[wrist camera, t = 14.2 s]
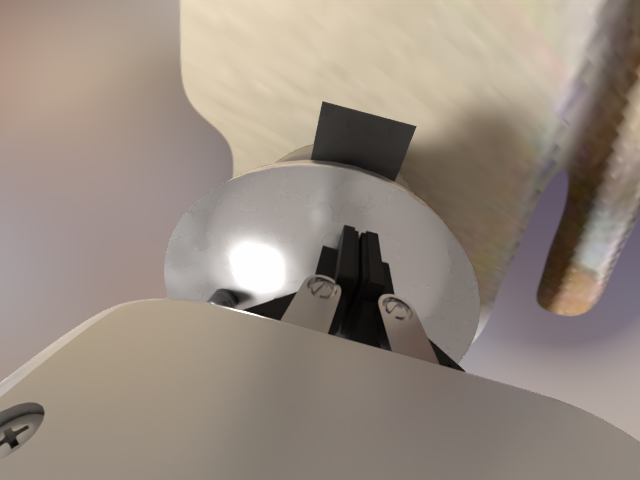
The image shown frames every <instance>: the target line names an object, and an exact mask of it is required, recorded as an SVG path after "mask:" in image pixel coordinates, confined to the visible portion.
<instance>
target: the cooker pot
mask: <svg viewBox="0 0 640 480" xmlns="http://www.w3.org/2000/svg"><path fill="white" fill-rule="evenodd" d="M415 129H416V126H413V125H410V124H406V123H402V122H398V121H395V120H391V119H387V118H383V117H380V116H376V115H372V114H368V113H365V112H361V111H357V110H353V109H349V108H346V107H342V106H338V105H334V104H331V103H327V102H322V107H321V112H320V116H319V121H318V126H317V131H316V136H315V141H314V144H313V145H309V146H305V147H303V148H300V149H298V150H295V151H294V152H292V153H290V154H288V155H287V156H285V157H283V158H282V159H280V160H279V161H277V162H275V163H279V162H286V161H299V160H315V161H331V162H336V163H341V164H346V165H351V166H356V167H359V168H362V169H365V170H368V171H371V172H374V173H376V174H379V175H381V176H383V177H385V178H387V179H389V180H391V181H393V182H395V183H397V184H399V185H401V186H403V187H404V188H406V189H407V190H409V191H410V192H412V190H411V188H410V187H409V185H408V184H407V182H406V181H405V179H404V178H403V177H402V175H401V174H400V173H399V170H400V167H401V165H402V162H403V159H404V157H405V154H406V152H407V149H408V147H409V144H410V141H411V139H412V136H413V134H414V131H415ZM412 193H413V192H412ZM413 194H414V193H413Z"/></svg>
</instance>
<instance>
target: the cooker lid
mask: <svg viewBox="0 0 640 480" xmlns="http://www.w3.org/2000/svg"><path fill="white" fill-rule="evenodd" d="M344 225H348V226H352V227H355V231H359V238H360V235H361V233H366V231H370V232H374V233H377V234H378V237H379V243H380V250H381V257H382V262H386V263H389V267H390V272H391V278H392V283H393V288H394V294H395V295H397V296H399V297H401V298H403V299H405V300H406V301H408V302H409V303H410V304H411V305H412V306H413V308H414V309H415V311H416V313H417V315H418V317H419V320H420V322H421V324H422V326H423V328H424V331H425V333H426V335H427V337H428V338H429V339H430V340H431V341H432V342H434V343H435V344H436V345H437V346H438V347H439V348H440V349H441V350H442V351H444V352H445V353H446V354H447V355H448V356H449V357H450V358H451V359H452V360H454V361H455V362H456V363H457V364H458V363H459V362H460V361H461V359H462V358H463V356H464V355H465V354H466V352H467V351H468V349H469V347H470V345H471V343H472V341H473V338H474V336H475V333H476V329H477V326H478V322H479V314H480V296H479V287H478V282H477V279H476V276H475V273H474V270H473V267H472V264H471V262H470V260H469V259H468V257H467V255H466V253H465V251H464V249H463V247H462V246H461V244H460V243H459V242H458V240H457V239H456V238H455V236H454V235H453V234H452V232H451V231H450V230H449V228H448V227H447V226H446V225H445V223H444V222H443V221H442V219H441V218H440V217H439V216H438V215H437V214H436V213H435V212H434V211H433V210H432V209H431V208H430V207H429V206H428V205H427V204H426V203H425V202H424V201H423V200H422V199H420V198H419V197H417V196H416V195H414V194H413V193H412V192H410V191H409V190H407V189H406V188H404V187H403V186H401V185H399V184H397V183H395V182H393V181H391V180H389V179H387V178H385V177H383V176H381V175H379V174H376V173H374V172H371V171H368V170H365V169H362V168H359V167H356V166H351V165H346V164H341V163H336V162H331V161H315V160H299V161H286V162H279V163H274V164H270V165H265V166H261V167H258V168H255V169H253V170H250V171H247V172H245V173H242V174H240V175H238V176H236V177H234V178H232V179H230V180H229V181H227V182H225V183H223V184H221V185H220V186H218V187H216V188H215V189H213V190H211V191H210V192H208V193H206V194H205V195H204V196H203V197H202V198H200V199H199V200H198V201H197V202H196V203H195V204H193V205H192V206H191V207H190V208H189V210H188V211H187V212H186V213H185V214H184V216H183V217H182V218H181V219H180V221H179V223H178V224H177V226H176V228H175V230H174V232H173V234H172V235H171V238H170V241H169V244H168V247H167V250H166V256H165V263H164V281H165V287H166V292H167V297H168V298H173V299H187V300H195V301H201V302H207V303H212V304H216V305H220V306H224V307H229V308H233V309H237V310H241V311H242V310H244V309H247V308H250V307H253V306H256V305H259V304H262V303H265V302H268V301H271V300H274V299H277V298H280V297H283V296H286V295H289V294H292V293H295V292H298V290H299V288H300V286H301V285H302V283H303V281H304V280H305V279H306V278H307V277H309V276H311V275H315V272H316V269H317V265H318V261H319V258H320V254H321V250H322V247H323V245H324V246H327V247H331V248H335V249H337V246H338V242H339V239H340V236H341V233H342V230H343V227H344ZM340 328H341V325H340V327H339V330H338V332H337V334H335V336H337V337H340V338H344V336H343V335H340Z"/></svg>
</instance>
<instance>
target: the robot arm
mask: <svg viewBox="0 0 640 480" xmlns="http://www.w3.org/2000/svg"><path fill="white" fill-rule="evenodd" d="M340 325H341V328H340V335H343V336H344V338H340V337H337V336H335V334H337V332H338V330H339V327H340ZM0 480H640V442H639V441H638V440H636V439H635V438H633V437H632V436H630V435H628V434H627V433H625V432H624V431H622V430H621V429H619V428H617V427H615V426H614V425H612V424H610V423H608V422H607V421H605V420H603V419H601V418H599V417H597V416H595V415H593V414H591V413H589V412H587V411H584V410H582V409H580V408H578V407H575V406H572V405H570V404H567V403H565V402H562V401H560V400H557V399H554V398H551V397H548V396H544V395H541V394H538V393H535V392H532V391H529V390H526V389H522V388H519V387H515V386H512V385H509V384H505V383H501V382H498V381H494V380H491V379H487V378H483V377H480V376H477V375H473V374H469V373H466V372H465V371H464V370H463V369H462V368H461V367H460V366H459V365H458V364H457V363H456V362H455V361H454V360H452V359H451V358H450V357H449V356H448V355H447V354H446V353H445V352H444V351H442V350H441V349H440V348H439V347H438V346H437V345H436V344H435V343H434V342H432V341H431V340H430V339H429V338H428V337H427V335H426V333H425V331H424V328H423V326H422V324H421V322H420V320H419V317H418V315H417V313H416V311H415V309H414V308H413V306H412V305H411V304H410V303H409V302H408V301H406V300H405V299H403V298H401V297H399V296H397V295H395V294H394V288H393V283H392V278H391V272H390V267H389V263H386V262H382V257H381V250H380V243H379V237H378V234H377V233H374V232H370V231H366V233H361V235H360V238H359V231H355V227H352V226H348V225H344V227H343V230H342V233H341V236H340V239H339V242H338V246H337V249H335V248H331V247H327V246H324V245H323V247H322V250H321V254H320V258H319V261H318V265H317V269H316V272H315V275H311V276H309V277H307V278H306V279H305V280H304V281H303V283H302V285H301V286H300V288H299V290H298V292H295V293H292V294H289V295H286V296H283V297H280V298H277V299H274V300H271V301H268V302H265V303H262V304H259V305H256V306H253V307H250V308H247V309H244V310H242V311H241V310H237V309H233V308H229V307H224V306H220V305H216V304H212V303H207V302H201V301H195V300H187V299H173V298H166V299H165V298H164V299H144V300H137V301H131V302H126V303H123V304H120V305H116V306H114V307H112V308H109V309H107V310H105V311H103V312H101V313H99V314H97V315H95V316H93V317H92V318H90V319H88V320H87V321H85V322H83V323H82V324H80V325H79V326H77V327H76V328H74V329H73V330H72V331H70V332H68V333H67V334H65V335H64V336H62V337H61V338H60V339H58V340H57V341H55V342H54V343H53V344H51V345H50V346H49V347H47V348H46V349H44V350H43V351H41V352H40V353H39V354H37V356H35V357H33V358H32V359H31V360H30V361H28V362H27V363H26V364H24V365H23V366H22V367H20V368H19V369H18V370H17V371H15V372H14V373H12V374H11V375H10V376H8V377H7V378H6V379H5V380H3V381H2V382H1V383H0Z"/></svg>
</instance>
